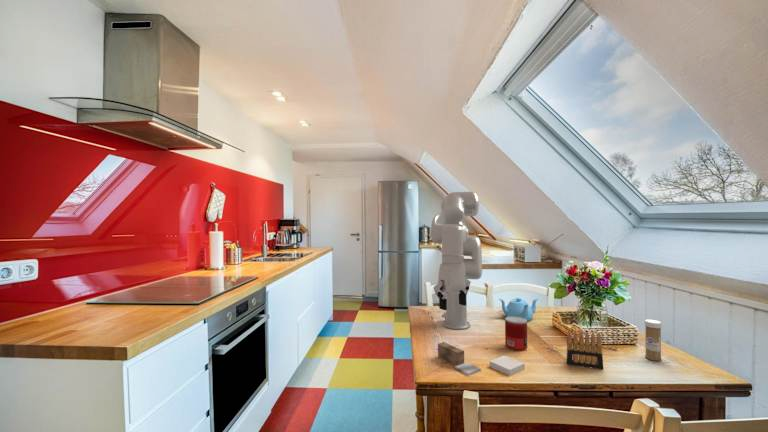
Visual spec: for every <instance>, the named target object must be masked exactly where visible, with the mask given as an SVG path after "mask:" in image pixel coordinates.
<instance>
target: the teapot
mask: <svg viewBox="0 0 768 432" xmlns="http://www.w3.org/2000/svg"><path fill="white" fill-rule="evenodd" d="M498 300H499V301H500V302H501V309H502V312H503V313H504V314H505V316H506V317H521V318H524V319H526V320H527V322H529V321H531V320H532V319H533V317H534V314H535V312H536V311H537V309H536V308H537V306H536V305H537V304H536V303H537V301H538V300H539V298H535V299H532V304H531V305H530V304H529V303H528V301H526V300H525V299H524V300H523V299H522V298H521V297H515V298H514V299H511V300H510V301H509V303H508V304H507V305H506V303H505V300H503V299H501V298H498Z"/></svg>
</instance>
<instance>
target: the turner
mask: <svg viewBox="0 0 768 432" xmlns="http://www.w3.org/2000/svg"><path fill="white" fill-rule="evenodd" d="M437 357H438V358H439V359H441V360H443V361H445V362H447V363H449V364H450V365H453V366H454V369H455V370H456V371H458V372H460V373H463V375H466V376H468V377H469V376H472V375H474V374H477V373H479V372H481V371H482V369H481V367H478V366H476V365H474V364H472V363H470V362H469V361H466V362H465V350H463V349H460V348H458V347H456V346H454V345H451V344H449V343H447V342H445V341H442V342H440V343H438V344H437Z"/></svg>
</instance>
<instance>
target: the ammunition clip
mask: <svg viewBox="0 0 768 432" xmlns="http://www.w3.org/2000/svg"><path fill="white" fill-rule="evenodd" d="M590 336H591V337H590ZM572 338H573V339H572ZM584 338H585V339H584ZM578 339H579V340H578ZM603 359H604V357H603V345H602V335H601V333H600V332H598V333H597V336H595V332H594V331H592V332H591V335H589V332H588V330H586V332H585V336H584V333H583V331H582V330H580V331H579V338H578V332H577V329H575V330H574V331H573V337H572V332H571V329H568V331H567V339H566V365H568V366H575V367H582V366H584V367H583V368H589V367H592V368H591V369H596V368H598V369H599V370H604V360H603ZM598 369H597V370H598Z"/></svg>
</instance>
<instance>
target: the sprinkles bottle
mask: <svg viewBox="0 0 768 432" xmlns="http://www.w3.org/2000/svg"><path fill="white" fill-rule="evenodd" d="M644 326H645V339H644V342H645V343H644V344H645V347H644V348H645V356H644V357H645V358H646V359H648V360H651V361H656V362H660V361H662V334H661V332H662V331H661V330H662V329H661V328H662V322H661V321H659V320H656V319H655V320H654V319H645V320H644Z"/></svg>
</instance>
